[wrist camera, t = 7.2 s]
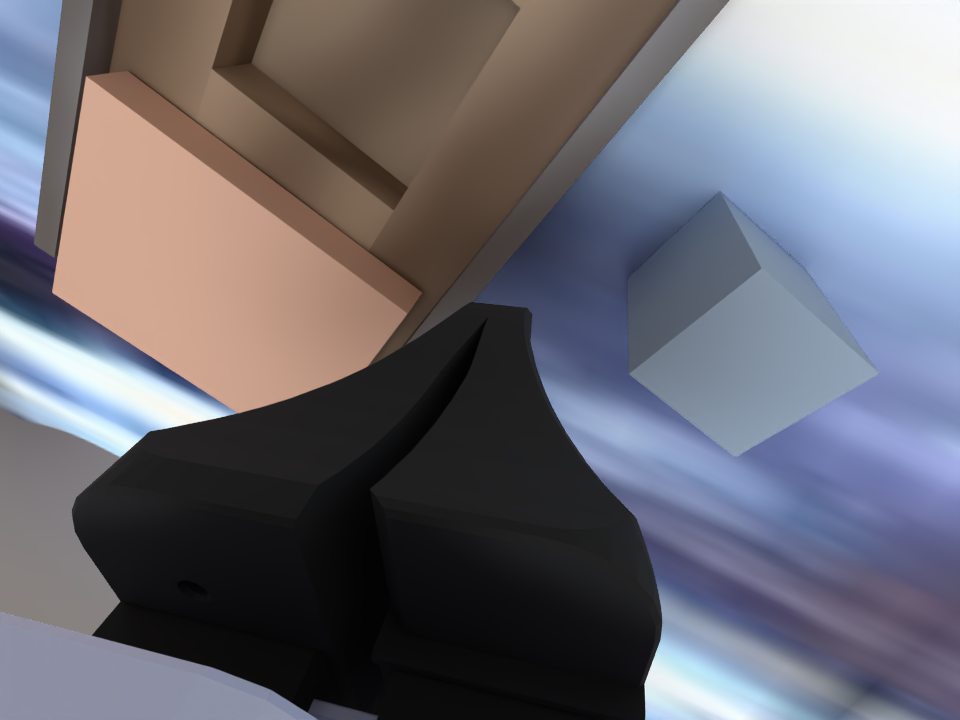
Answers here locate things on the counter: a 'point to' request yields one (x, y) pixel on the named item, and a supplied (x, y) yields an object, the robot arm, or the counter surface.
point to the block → (736, 331)
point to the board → (387, 111)
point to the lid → (212, 257)
